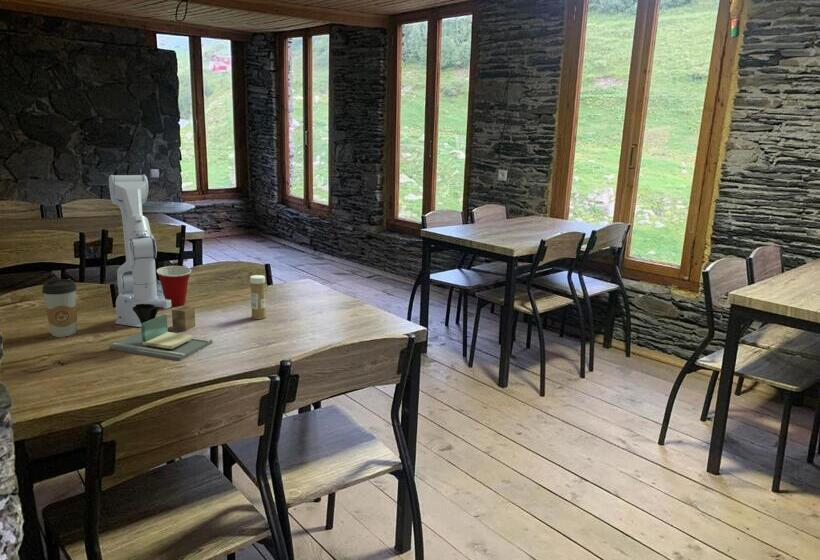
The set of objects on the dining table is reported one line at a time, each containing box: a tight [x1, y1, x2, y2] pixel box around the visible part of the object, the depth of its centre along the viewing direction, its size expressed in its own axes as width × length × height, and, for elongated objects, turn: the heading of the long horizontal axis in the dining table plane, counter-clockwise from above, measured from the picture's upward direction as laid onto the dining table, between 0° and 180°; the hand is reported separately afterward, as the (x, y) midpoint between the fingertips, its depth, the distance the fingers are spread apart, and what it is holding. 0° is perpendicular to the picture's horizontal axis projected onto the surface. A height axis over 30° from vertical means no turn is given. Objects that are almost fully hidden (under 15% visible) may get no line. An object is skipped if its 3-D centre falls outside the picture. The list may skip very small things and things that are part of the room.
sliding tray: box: [140, 314, 194, 350], centre depth 163 cm, size 9×9×6 cm
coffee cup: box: [41, 278, 78, 338], centre depth 170 cm, size 8×8×15 cm
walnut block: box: [171, 305, 196, 332], centre depth 179 cm, size 4×4×6 cm
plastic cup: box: [156, 265, 192, 307], centre depth 201 cm, size 11×11×12 cm
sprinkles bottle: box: [249, 274, 267, 320], centre depth 190 cm, size 5×5×14 cm
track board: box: [109, 330, 213, 361], centre depth 165 cm, size 22×14×1 cm, turn 74°
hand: (148, 330), depth 165 cm, fingers closed
